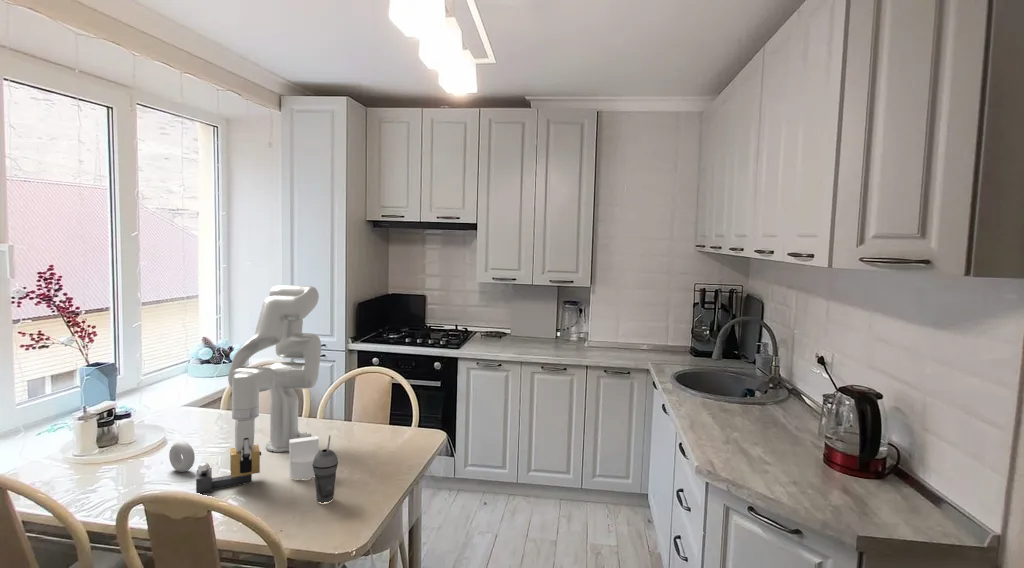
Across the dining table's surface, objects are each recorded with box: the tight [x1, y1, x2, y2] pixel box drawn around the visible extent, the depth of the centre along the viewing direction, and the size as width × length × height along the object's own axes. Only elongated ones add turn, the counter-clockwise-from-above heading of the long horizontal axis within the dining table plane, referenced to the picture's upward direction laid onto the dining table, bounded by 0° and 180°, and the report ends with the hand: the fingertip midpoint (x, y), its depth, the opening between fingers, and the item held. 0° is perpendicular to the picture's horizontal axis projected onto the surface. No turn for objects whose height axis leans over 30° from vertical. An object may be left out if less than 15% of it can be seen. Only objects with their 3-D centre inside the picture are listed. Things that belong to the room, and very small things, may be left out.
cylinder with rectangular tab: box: [288, 435, 320, 481], centre depth 174 cm, size 9×9×12 cm
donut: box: [168, 440, 196, 473], centre depth 174 cm, size 10×4×10 cm, turn 66°
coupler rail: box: [195, 462, 253, 495], centre depth 165 cm, size 15×7×8 cm, turn 119°
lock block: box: [229, 444, 262, 477], centre depth 167 cm, size 9×6×7 cm
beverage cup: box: [312, 434, 339, 503], centre depth 157 cm, size 7×7×20 cm
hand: (245, 467), depth 167 cm, fingers closed on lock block, 6 cm apart
